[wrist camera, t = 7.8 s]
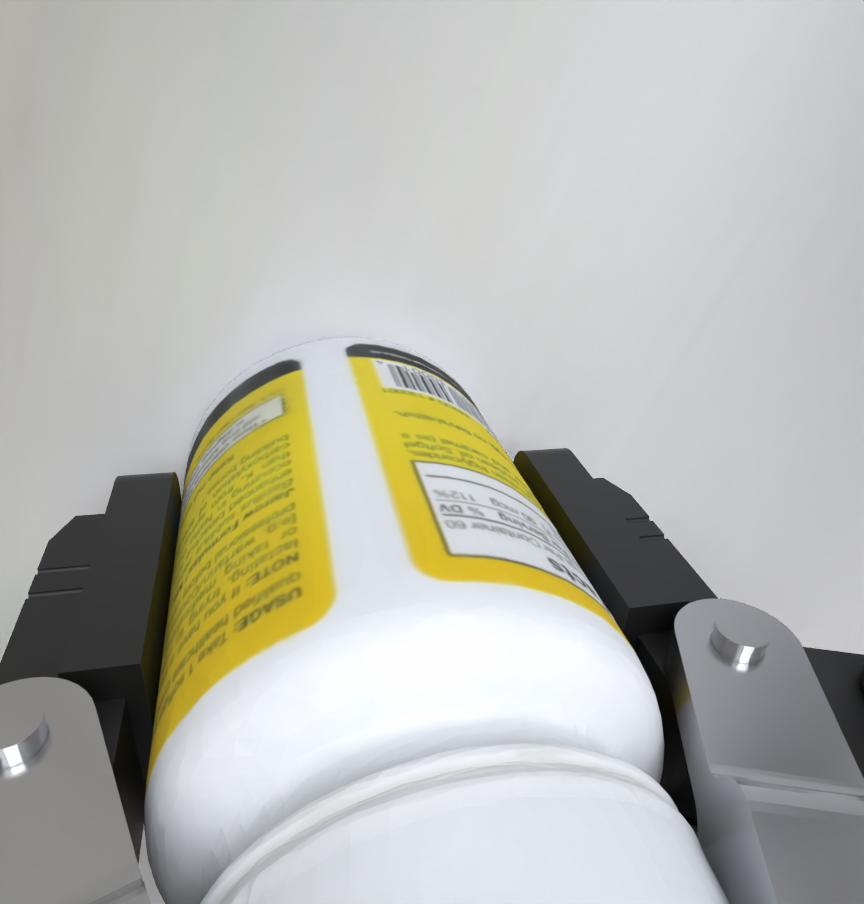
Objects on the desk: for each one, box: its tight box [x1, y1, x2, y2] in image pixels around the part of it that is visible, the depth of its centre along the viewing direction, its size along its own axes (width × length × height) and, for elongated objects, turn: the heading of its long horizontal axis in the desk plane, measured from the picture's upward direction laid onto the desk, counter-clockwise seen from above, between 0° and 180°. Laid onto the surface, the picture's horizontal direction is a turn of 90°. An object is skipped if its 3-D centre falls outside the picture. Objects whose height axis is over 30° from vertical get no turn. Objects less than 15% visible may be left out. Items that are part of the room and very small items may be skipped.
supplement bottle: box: [144, 337, 730, 904], centre depth 8 cm, size 5×5×8 cm
